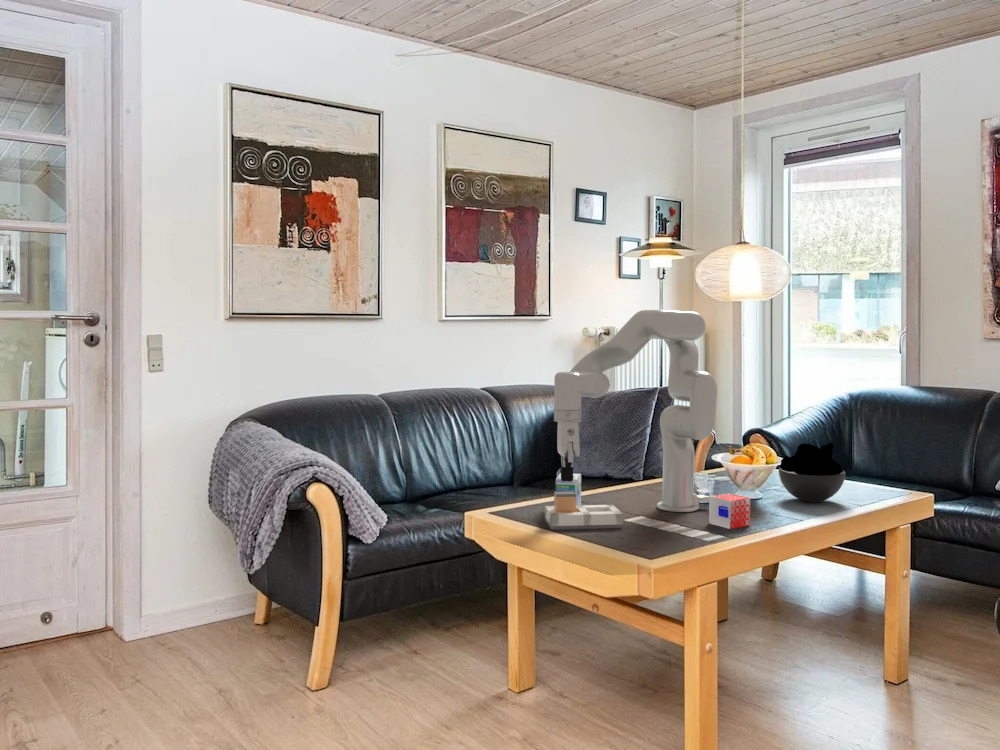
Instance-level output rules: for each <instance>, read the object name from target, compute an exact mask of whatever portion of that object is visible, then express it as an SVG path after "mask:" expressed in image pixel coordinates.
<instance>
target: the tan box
mask: <svg viewBox="0 0 1000 750" xmlns="http://www.w3.org/2000/svg"><path fill="white" fill-rule="evenodd" d="M553 502H554V503H553V506H554V510H555V511H556V512H557V513H564V512H576V494H575V493H574V491H559V492H556V491H554V492H553Z"/></svg>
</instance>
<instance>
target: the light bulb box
mask: <svg viewBox="0 0 1000 750" xmlns="http://www.w3.org/2000/svg"><path fill="white" fill-rule="evenodd" d="M559 491H574V493H575V494H576V505H582V474H581V473H573V481H562V480H561V472H560V473H559V474H558V475H557V477H556V478H555V492H559Z"/></svg>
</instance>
